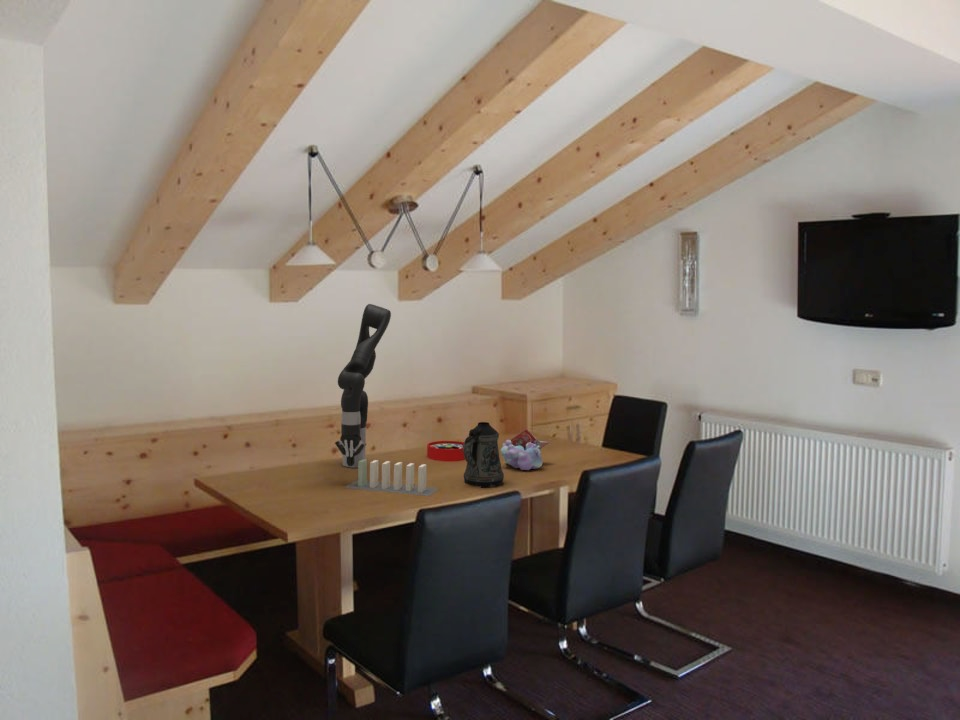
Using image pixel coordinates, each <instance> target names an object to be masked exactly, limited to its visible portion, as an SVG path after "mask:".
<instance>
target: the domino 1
mask: <svg viewBox="0 0 960 720" xmlns="http://www.w3.org/2000/svg"><path fill="white" fill-rule="evenodd" d="M357 474H358V475H357V476H358V477H357V481H358V487H362V486H364V485H366V484H367V482H368V459H367V458H366V459H362V460H360V461H359V462H358V469H357Z"/></svg>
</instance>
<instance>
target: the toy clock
mask: <svg viewBox="0 0 960 720" xmlns="http://www.w3.org/2000/svg"><path fill="white" fill-rule="evenodd" d="M464 442H465V441H464ZM464 442H463V441H457V440H437V441H435V440H434V441H431V442H428V443H427V445H426V446H427V447H426V458H427V457H428V458H427V459H429V460H432V461H437V462H449V463H451V462H461V461H466V459H465V457H464V454H463V444H464Z"/></svg>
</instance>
